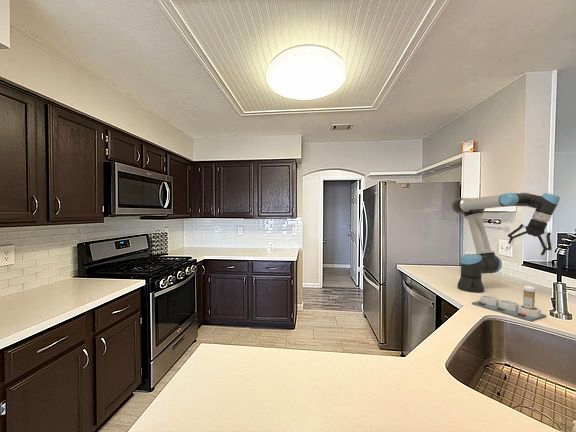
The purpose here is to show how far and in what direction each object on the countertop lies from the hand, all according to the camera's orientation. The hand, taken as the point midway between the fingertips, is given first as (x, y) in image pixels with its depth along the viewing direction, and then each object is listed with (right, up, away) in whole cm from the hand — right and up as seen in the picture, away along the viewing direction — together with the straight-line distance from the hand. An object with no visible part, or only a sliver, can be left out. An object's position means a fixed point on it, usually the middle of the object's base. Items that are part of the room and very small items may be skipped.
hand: (522, 254), depth 161 cm
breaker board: (-21, -27, -15) cm, 38 cm away
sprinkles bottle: (-16, -27, -22) cm, 38 cm away
